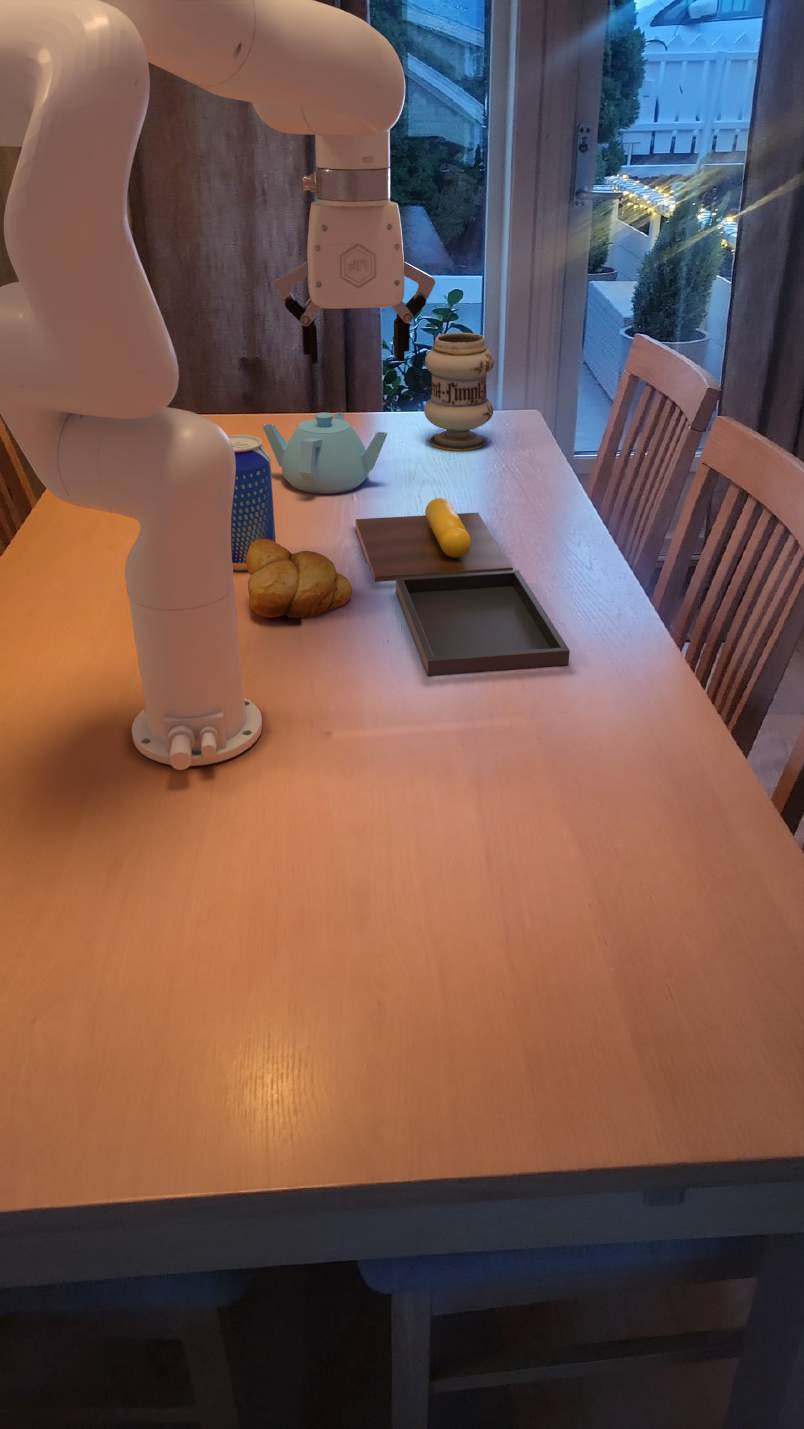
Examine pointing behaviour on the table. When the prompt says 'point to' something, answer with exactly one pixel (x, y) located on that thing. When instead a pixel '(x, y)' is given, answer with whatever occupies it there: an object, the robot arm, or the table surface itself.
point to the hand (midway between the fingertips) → (356, 359)
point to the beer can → (250, 498)
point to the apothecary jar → (459, 390)
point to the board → (425, 548)
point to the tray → (479, 623)
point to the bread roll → (292, 581)
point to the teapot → (324, 454)
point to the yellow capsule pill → (447, 528)
